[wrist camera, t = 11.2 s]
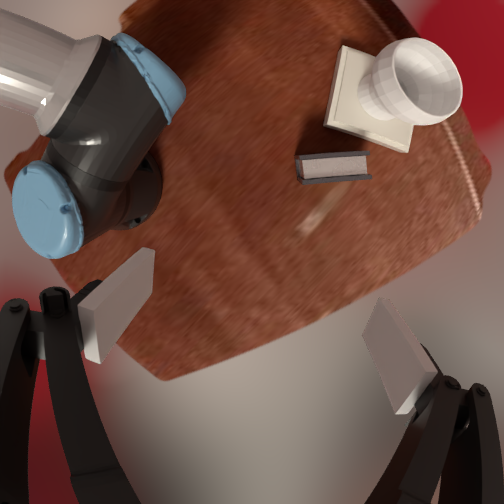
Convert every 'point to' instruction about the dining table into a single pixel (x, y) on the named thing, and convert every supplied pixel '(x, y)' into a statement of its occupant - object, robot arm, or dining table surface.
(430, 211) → the dining table surface
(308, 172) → the napkin holder
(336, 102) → the pedestal
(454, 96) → the cup
